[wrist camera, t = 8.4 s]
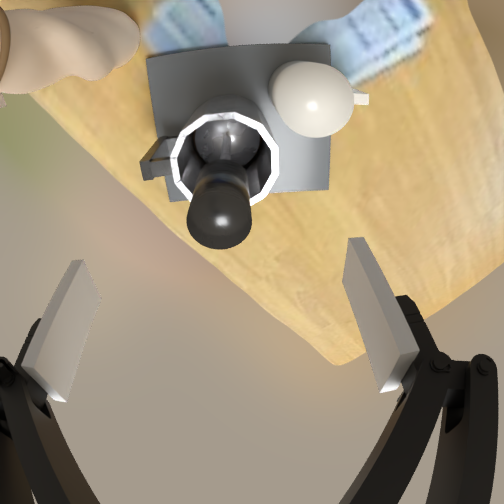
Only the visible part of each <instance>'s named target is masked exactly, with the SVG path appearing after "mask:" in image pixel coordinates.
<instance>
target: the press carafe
mask: <svg viewBox="0 0 504 504" xmlns="http://www.w3.org/2000/svg"><path fill="white" fill-rule="evenodd" d="M225 119H235V120H237V121H239V122H242V123H244V124H246V125H248V126H251V127H253V128H255V129H257V130H258V132H259V135H260V143H259V147H258V150H257V152H256V154H255V155H254V157H253V158H252V159H251V160H250V161H249V162H247V163H246V164H244V165H242V166H241V167H242V168H243V169H244V170H245V172H246V174H247V176H248V181H249V193H250V205H253V204H254V203H256V202H258V201H259V200H261V199H263V198H264V197H266V195H267V194H268V192H269V190H270V188H271V187H272V185H273V183H274V181H275V180H276V178H277V176H278V175H279V166H278V146H277V144H276V142H275V139H274V137H273V134H272V132H271V129H270V127H269V125H268V122H267V120H266V118H265V117H264V115H263V114H262V113H261V111H260V110H259V108H258V107H257V105H256V104H255V103H254V102H251V101H249V100H247V99H245V98H243V97H240V96H238V95H236V94H234V95H223V96H214V97H212V98H211V99H210V100H208V101H207V102H205V103H204V104H202V105H201V106H200V107H198V108H197V109H196V110H195V112H194V113H193V115H192V116H191V117H190V119H189V120H188V122H187V123H186V125H185V126H184V127H183V129H182V130H181V132H180V134H179V135H178V136H171V137H168V135H167V136H161V137H159V138H158V140H157V141H156V142H155V143H154V144H153V146H152V147H151V148H150V149H149V151H148V152H147V153H146V154H145V156H144V157H143V158H142V159H141V161H140V167H141V171H142V176H143V180H144V181H145V180H153V179H154V177H160V176H168V175H173V177H174V183H175V184H176V186H177V187H178V188H179V189H180V190H181V191H182V192H183V194H184V195H185V196H186V197H187V198H188V199H189V200H190V202H191V199H192V196H193V192H194V188H195V185H196V181H197V178H198V175H199V173H200V171H201V169H202V168H203V167H204V166H205V165H206V164H208V163H207V162H206V161H205V160H204V159H203V158H202V157H201V156H200V154H199V153H198V151H197V148H196V144H195V134H196V130H197V128H198V127H199V126H201V125H202V124H204V123H205V122H207V121H215V120H225ZM170 151H172V154H171V156H168V154H169V152H170ZM167 156H168V157H167Z"/></svg>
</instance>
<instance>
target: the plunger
mask: <svg viewBox="0 0 504 504" xmlns="http://www.w3.org/2000/svg"><path fill="white" fill-rule="evenodd" d="M259 143H260V135H259V132H258V130H257V129H255V128H253V127H251V126H248V125H246V124H244V123H242V122H239V121H237V120H235V119H225V120H215V121H207V122H205V123H204V124H202V125H201V126H199V127H198V128H197V130H196V134H195V144H196V148H197V151H198V153H199V154H200V156H201V157H202V158H203V159H204V160H205V161H206V162H207V163H208V164H206V165H205V166H204V167H203V168H202V169H201V171H200V173H199V175H198V178H197V181H196V185H195V188H194V192H193V196H192V199H191V203H190V207H189V210H188V214H187V227H188V230H189V232H190V234H191V236H192V237H193V238H194V239H195V240H196V241H197V242H198V243H200V244H201V245H203V246H205V247H208V248H212V249H228V248H231V247H234V246H236V245H238V244H240V243H241V242H242V241H243V240H244V239H245V238H246V237H247V236H248V234H249V232H250V230H251V225H252V217H251V205H250V193H249V181H248V176H247V174H246V172H245V170H244V169H243V168H242V167H241V166H242V165H244V164H246V163H247V162H249V161H250V160H251V159H252V158H253V157H254V155H255V154H256V152H257V150H258V147H259Z"/></svg>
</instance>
